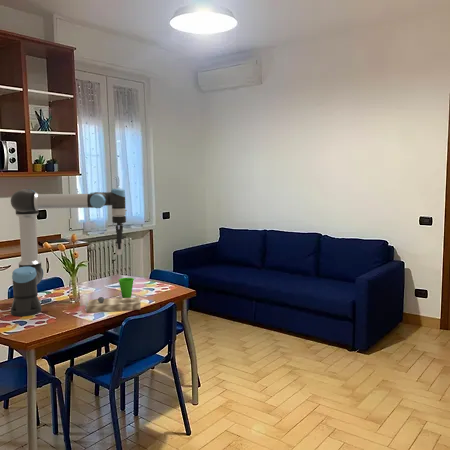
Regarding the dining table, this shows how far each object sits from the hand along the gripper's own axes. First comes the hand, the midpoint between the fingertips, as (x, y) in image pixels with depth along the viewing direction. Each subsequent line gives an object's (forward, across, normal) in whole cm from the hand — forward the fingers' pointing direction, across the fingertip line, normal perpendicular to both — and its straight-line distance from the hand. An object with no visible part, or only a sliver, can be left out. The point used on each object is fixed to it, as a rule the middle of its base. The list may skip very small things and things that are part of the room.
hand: (120, 252), depth 267 cm
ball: (+23, -16, +10) cm, 29 cm away
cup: (+28, +5, -3) cm, 29 cm away
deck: (+28, -14, +3) cm, 32 cm away
